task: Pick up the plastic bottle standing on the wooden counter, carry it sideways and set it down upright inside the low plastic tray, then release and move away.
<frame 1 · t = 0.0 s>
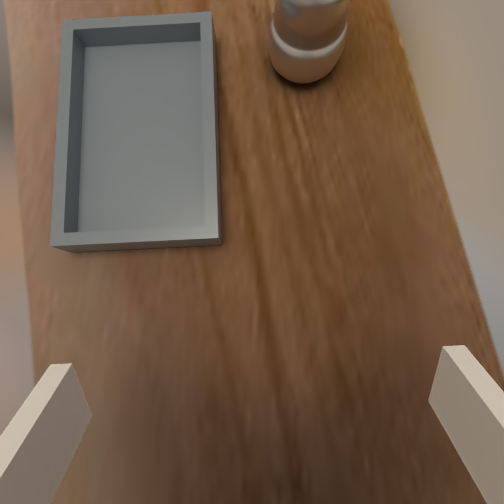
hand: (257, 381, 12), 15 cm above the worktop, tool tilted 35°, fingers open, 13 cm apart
tray: (147, 140, 30), on the worktop
plastic bottle: (301, 64, 32), on the worktop
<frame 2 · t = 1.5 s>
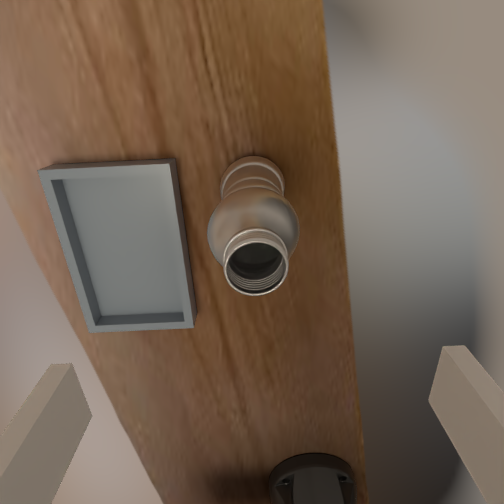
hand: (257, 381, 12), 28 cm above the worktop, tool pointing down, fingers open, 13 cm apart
tray: (132, 246, 40), on the worktop
plastic bottle: (251, 181, 37), on the worktop
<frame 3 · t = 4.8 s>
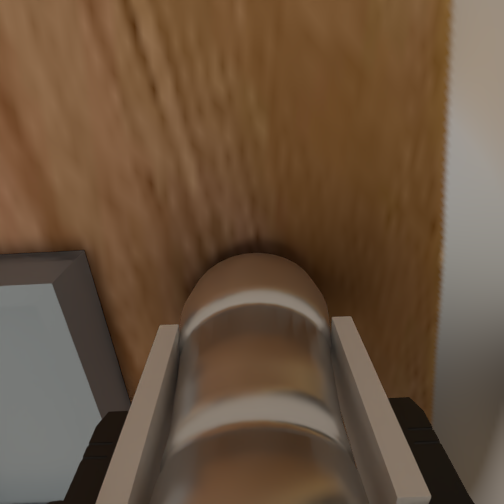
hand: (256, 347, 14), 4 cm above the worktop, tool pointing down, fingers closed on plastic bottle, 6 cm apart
tray: (23, 401, 21), on the worktop
plastic bottle: (252, 292, 18), on the worktop, touching gripper
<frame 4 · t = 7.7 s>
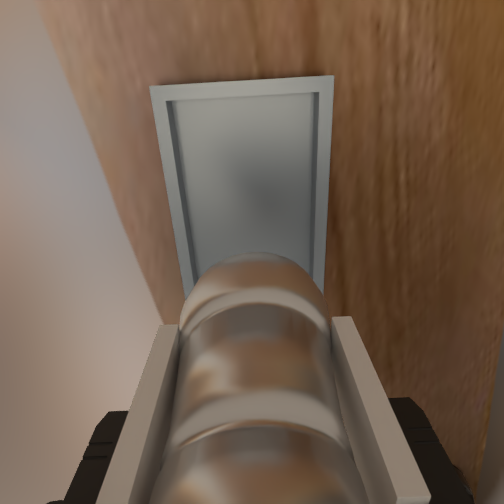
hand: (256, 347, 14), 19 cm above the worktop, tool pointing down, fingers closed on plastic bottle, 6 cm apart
tray: (249, 203, 31), on the worktop
plastic bottle: (252, 291, 18), point 15 cm above the worktop, touching gripper
when the fingers open (6 cm above the worktop, at t = 10.8 s): plastic bottle stays where it is, resting on tray.
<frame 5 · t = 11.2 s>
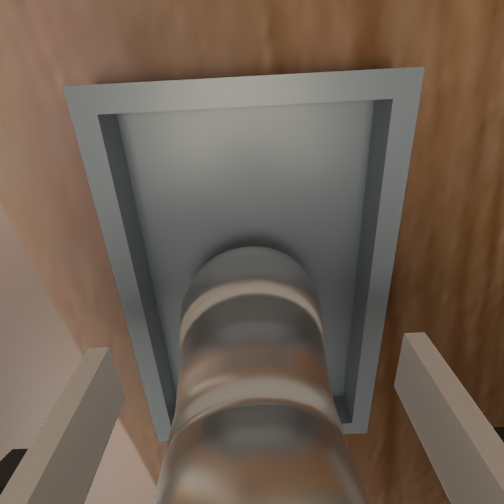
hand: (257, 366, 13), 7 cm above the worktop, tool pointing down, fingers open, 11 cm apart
tray: (254, 274, 19), on the worktop
plastic bottle: (248, 284, 18), point 1 cm above the worktop, touching tray
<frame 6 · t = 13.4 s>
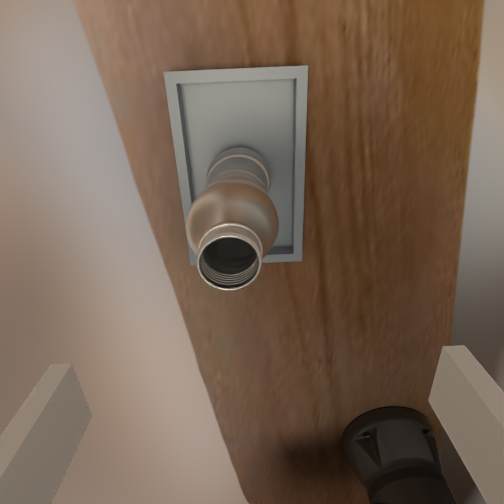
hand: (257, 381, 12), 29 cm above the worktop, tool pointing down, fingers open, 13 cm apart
tray: (242, 171, 37), on the worktop
plastic bottle: (239, 174, 37), point 1 cm above the worktop, touching tray
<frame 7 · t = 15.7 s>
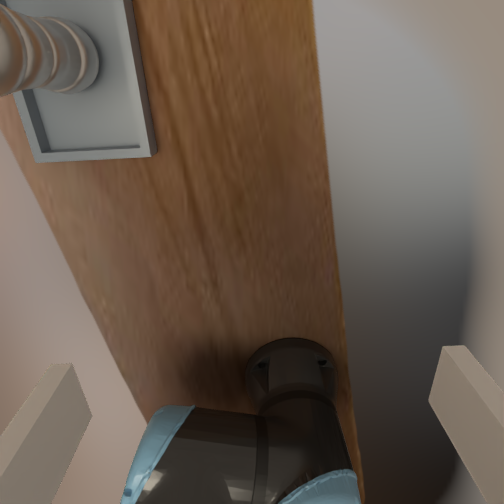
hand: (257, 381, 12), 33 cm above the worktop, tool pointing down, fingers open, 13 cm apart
tray: (80, 59, 36), on the worktop
plastic bottle: (74, 59, 35), point 1 cm above the worktop, touching tray
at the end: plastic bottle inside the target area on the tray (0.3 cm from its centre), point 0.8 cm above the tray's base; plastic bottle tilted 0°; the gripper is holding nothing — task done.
